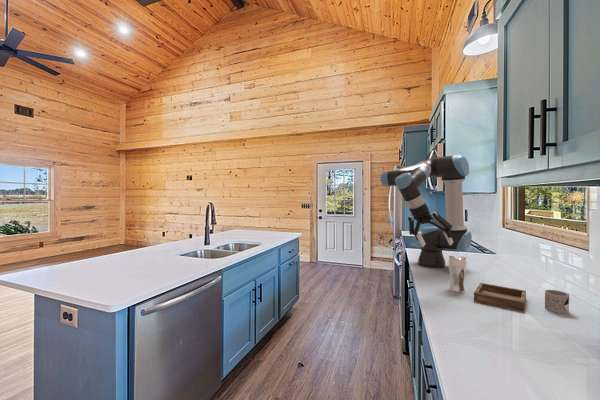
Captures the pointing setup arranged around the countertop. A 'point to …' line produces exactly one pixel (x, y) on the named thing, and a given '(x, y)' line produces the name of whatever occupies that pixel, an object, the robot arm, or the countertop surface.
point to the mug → (557, 301)
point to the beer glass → (457, 273)
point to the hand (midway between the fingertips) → (437, 244)
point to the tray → (500, 296)
